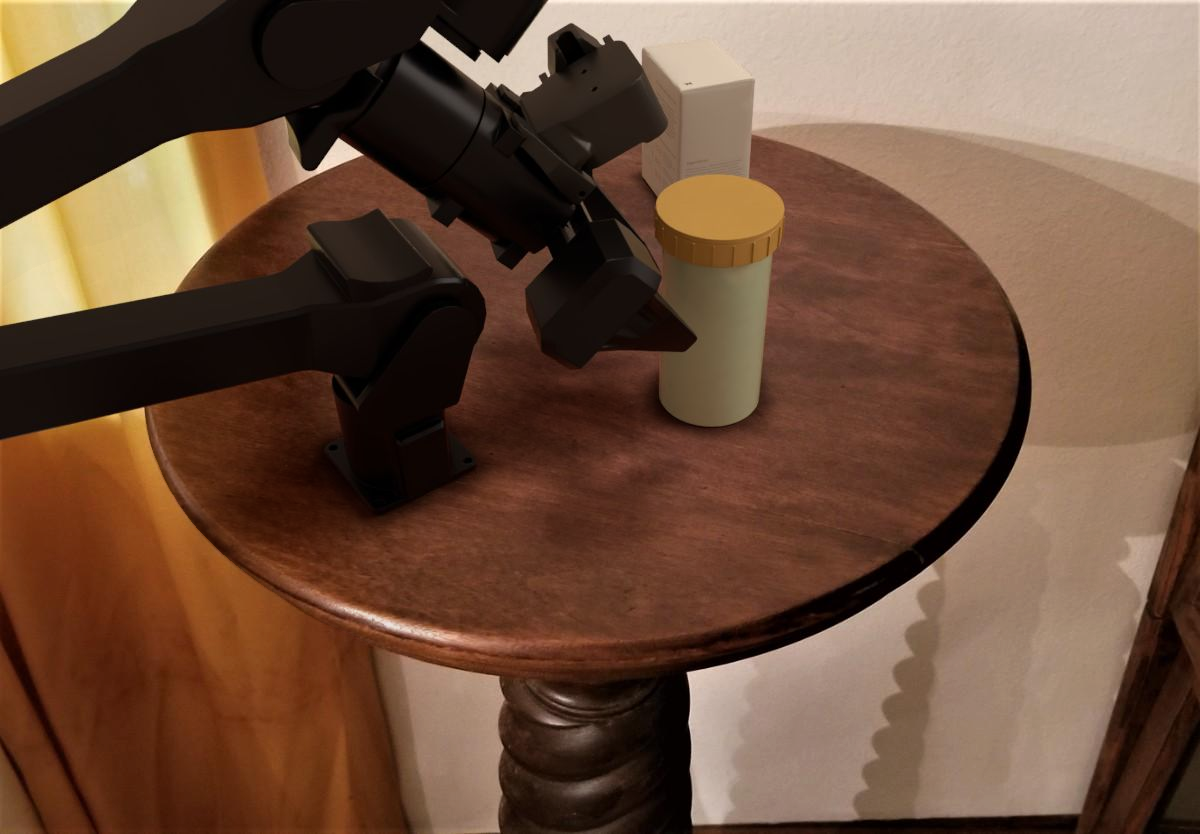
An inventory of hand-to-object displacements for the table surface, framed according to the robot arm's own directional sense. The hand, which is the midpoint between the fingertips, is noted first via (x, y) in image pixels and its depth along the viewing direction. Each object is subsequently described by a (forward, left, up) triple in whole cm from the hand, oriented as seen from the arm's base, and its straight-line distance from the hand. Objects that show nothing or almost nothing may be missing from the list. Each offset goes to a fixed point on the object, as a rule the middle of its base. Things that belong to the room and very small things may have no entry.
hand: (664, 295), depth 63 cm
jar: (+1, +3, -8) cm, 8 cm away
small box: (-18, +17, -8) cm, 26 cm away
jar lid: (+1, +3, +5) cm, 6 cm away
